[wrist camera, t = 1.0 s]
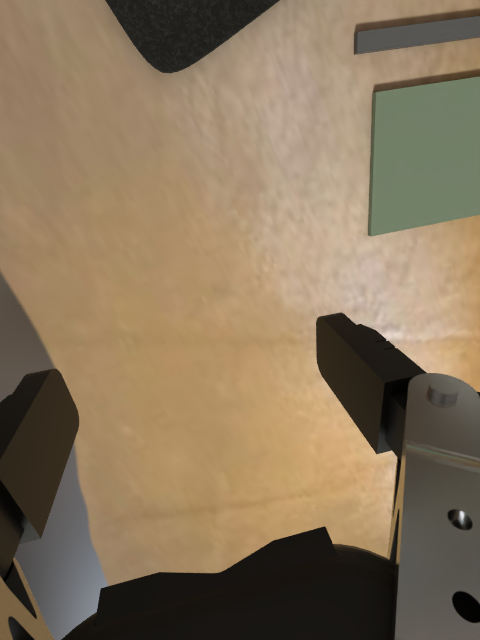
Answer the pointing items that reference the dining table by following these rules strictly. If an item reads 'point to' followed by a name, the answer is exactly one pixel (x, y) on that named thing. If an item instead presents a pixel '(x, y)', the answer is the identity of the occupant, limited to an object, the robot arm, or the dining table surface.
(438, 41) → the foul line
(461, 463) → the robot arm
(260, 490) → the dining table surface
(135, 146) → the dining table surface
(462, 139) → the mat
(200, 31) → the sushi plate
